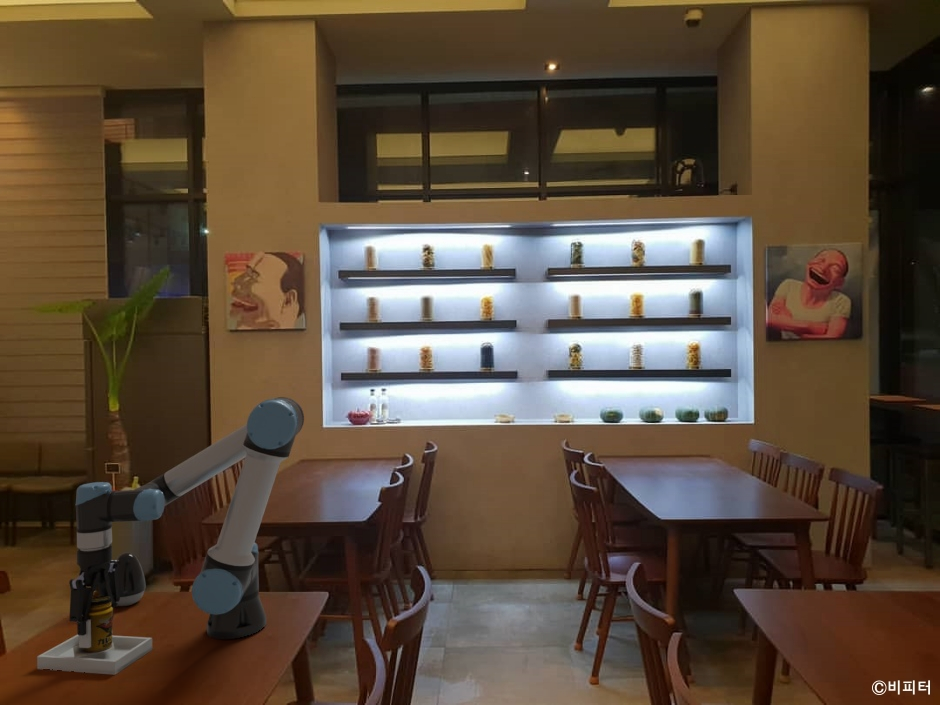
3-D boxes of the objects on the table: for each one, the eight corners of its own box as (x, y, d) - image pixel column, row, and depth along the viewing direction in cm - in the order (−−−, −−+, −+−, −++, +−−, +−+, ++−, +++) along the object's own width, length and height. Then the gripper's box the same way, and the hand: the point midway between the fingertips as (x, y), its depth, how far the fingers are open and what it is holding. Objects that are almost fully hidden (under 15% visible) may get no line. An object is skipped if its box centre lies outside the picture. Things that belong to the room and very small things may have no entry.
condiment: (115, 649, 157) (116, 599, 158) (74, 658, 153) (75, 606, 153) (112, 640, 163) (113, 592, 164) (73, 648, 159) (74, 598, 160)
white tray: (152, 649, 163) (152, 637, 163) (115, 674, 150) (115, 661, 150) (79, 645, 167) (79, 633, 167) (37, 669, 154) (37, 656, 154)
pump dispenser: (100, 605, 194) (99, 555, 194) (133, 594, 203) (132, 546, 203) (119, 612, 189) (118, 560, 189) (152, 600, 198) (151, 550, 198)
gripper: (109, 535, 169) (111, 623, 169) (49, 558, 150) (50, 657, 150) (135, 536, 168) (136, 625, 168) (77, 559, 149) (78, 660, 149)
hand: (96, 640), depth 159 cm, fingers closed on condiment, 6 cm apart
